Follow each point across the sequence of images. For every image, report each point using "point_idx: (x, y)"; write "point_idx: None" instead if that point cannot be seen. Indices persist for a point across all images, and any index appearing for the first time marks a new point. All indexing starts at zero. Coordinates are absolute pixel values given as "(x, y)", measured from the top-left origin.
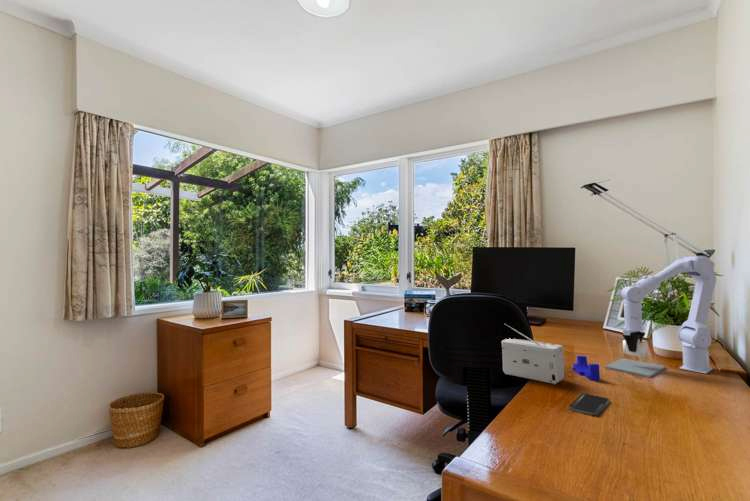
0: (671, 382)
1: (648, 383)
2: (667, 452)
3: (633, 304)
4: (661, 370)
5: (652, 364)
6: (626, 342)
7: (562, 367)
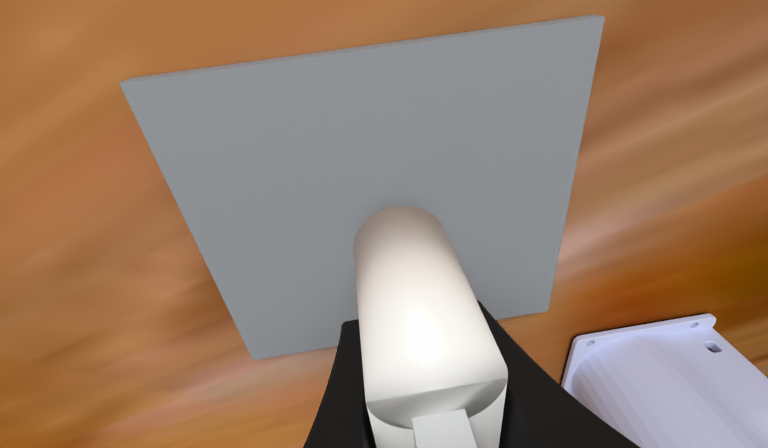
0: (284, 408)
1: (147, 385)
2: None
3: None
4: None
5: (538, 260)
6: (315, 426)
7: None
